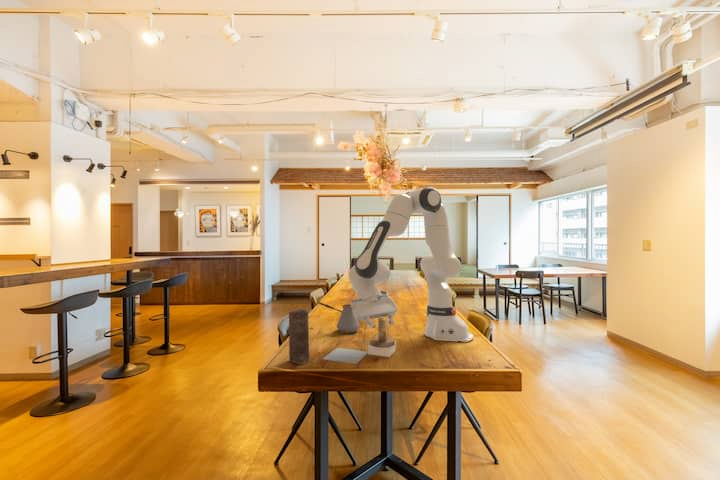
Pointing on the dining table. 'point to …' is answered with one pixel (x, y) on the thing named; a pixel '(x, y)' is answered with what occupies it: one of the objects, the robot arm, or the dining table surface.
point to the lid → (382, 336)
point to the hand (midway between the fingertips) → (383, 325)
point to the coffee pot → (346, 319)
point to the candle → (298, 336)
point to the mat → (345, 355)
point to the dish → (381, 350)
